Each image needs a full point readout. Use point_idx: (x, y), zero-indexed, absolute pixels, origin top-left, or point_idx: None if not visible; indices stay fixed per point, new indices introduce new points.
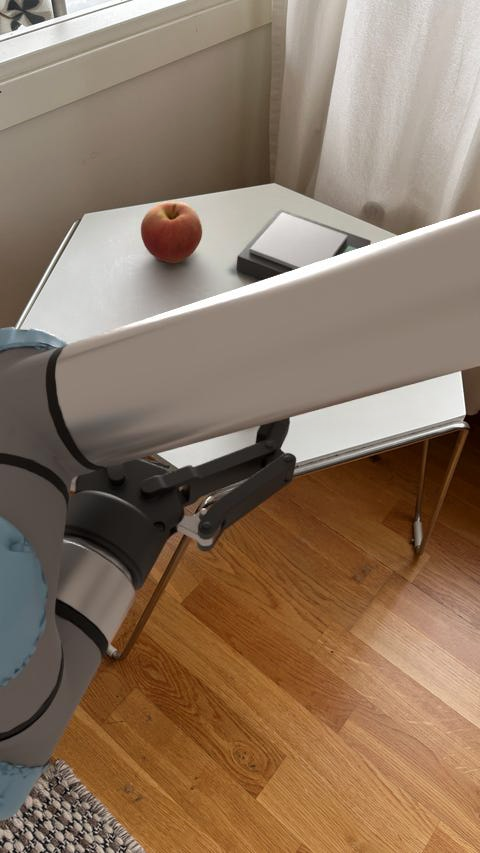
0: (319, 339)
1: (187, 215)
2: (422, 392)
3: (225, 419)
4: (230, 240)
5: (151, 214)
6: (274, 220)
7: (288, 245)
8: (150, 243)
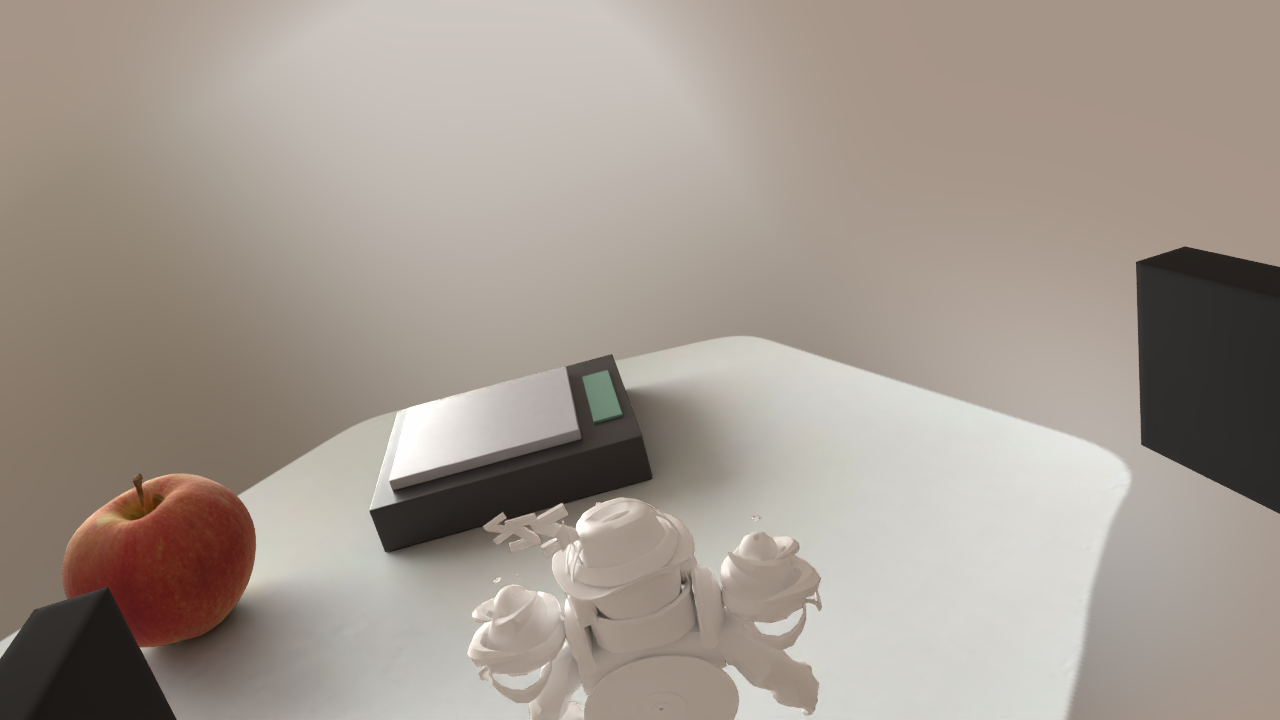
0: None
1: (187, 485)
2: (1013, 470)
3: None
4: (329, 519)
5: (79, 536)
6: (402, 428)
7: (468, 432)
8: None
